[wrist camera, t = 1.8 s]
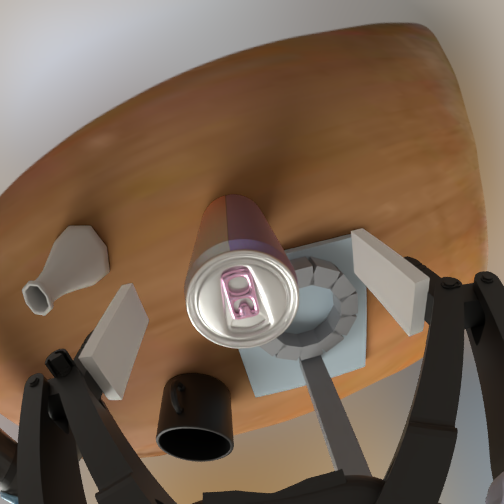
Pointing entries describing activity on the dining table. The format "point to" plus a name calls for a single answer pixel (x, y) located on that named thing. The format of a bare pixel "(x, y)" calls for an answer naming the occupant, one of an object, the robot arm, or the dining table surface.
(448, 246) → the dining table surface
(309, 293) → the seat board
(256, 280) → the beverage can
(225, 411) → the mug
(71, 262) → the flask
